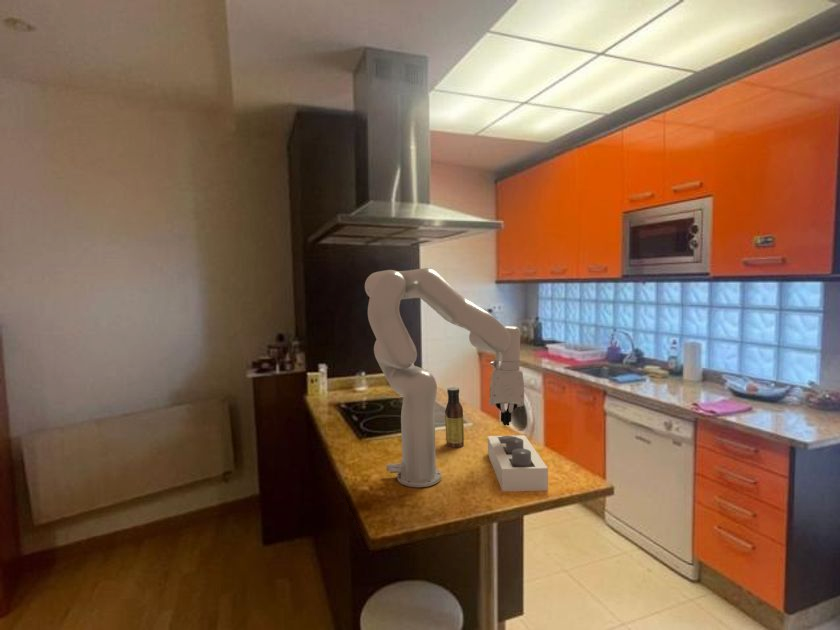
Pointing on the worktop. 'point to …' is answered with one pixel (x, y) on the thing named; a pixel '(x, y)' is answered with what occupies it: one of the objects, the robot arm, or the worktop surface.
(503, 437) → the far cap
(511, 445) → the middle cap
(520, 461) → the near cap
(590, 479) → the worktop surface
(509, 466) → the button panel
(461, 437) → the sauce bottle
